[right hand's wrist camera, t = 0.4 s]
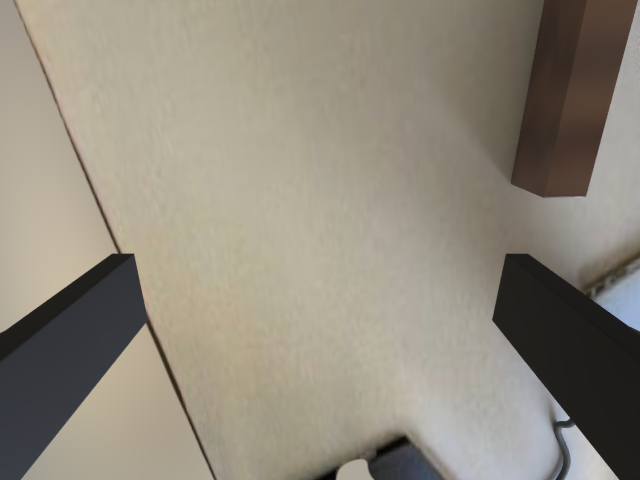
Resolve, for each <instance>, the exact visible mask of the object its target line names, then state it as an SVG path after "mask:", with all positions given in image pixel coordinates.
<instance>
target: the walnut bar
mask: <svg viewBox="0 0 640 480" xmlns="http://www.w3.org/2000/svg"><path fill="white" fill-rule="evenodd" d="M637 2H638V0H545V2H544V8H543V13H542V19H541V24H540V29H539V35H538V40H537V46H536V51H535V57H534V62H533V67H532V73H531V78H530V84H529V89H528V95H527V100H526V105H525V111H524V116H523V122H522V127H521V133H520V138H519V143H518V149H517V154H516V160H515V165H514V171H513V176H512V181H511V184H512V185H514V186H517V187H519V188H522V189H524V190H526V191H529V192H531V193H534V194H536V195H538V196H541V197H543V198H552V197H586V194H587V190H588V187H589V183H590V179H591V175H592V171H593V168H594V164H595V160H596V156H597V153H598V149H599V145H600V141H601V137H602V134H603V130H604V126H605V122H606V119H607V115H608V111H609V107H610V104H611V100H612V96H613V92H614V88H615V85H616V81H617V77H618V73H619V70H620V66H621V62H622V58H623V55H624V51H625V47H626V43H627V39H628V36H629V32H630V28H631V24H632V21H633V17H634V13H635V9H636V6H637Z"/></svg>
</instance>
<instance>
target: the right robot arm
mask: <svg viewBox="0 0 640 480" xmlns="http://www.w3.org/2000/svg"><path fill="white" fill-rule="evenodd" d="M147 320H148V319H147V314H146V309H145V304H144V300H143V295H142V290H141V285H140V280H139V276H138V271H137V266H136V261H135V256H134V254H111V255H110V256H108V257H107V258H106V259H104V260H103V261H101V262H100V263H99V264H97V265H96V266H94V267H93V268H92V269H90V270H89V271H88V272H86V273H85V274H83V275H82V276H81V277H79V278H78V279H76V280H75V281H74V282H72V283H71V284H69V285H68V286H67V287H65V288H64V289H62V290H61V291H60V292H58V293H57V294H56V295H54V296H53V297H51V298H50V299H49V300H47V301H46V302H44V303H43V304H42V305H40V306H39V307H37V308H36V309H35V310H33V311H32V312H31V313H29V314H28V315H26V316H25V317H24V318H22V319H21V320H19V321H18V322H17V323H15V324H14V325H12V326H11V327H10V328H8V329H7V330H6V331H4V332H1V333H0V480H21V479H22V477H23V476H24V475H25V474H26V472H27V471H28V470H29V469H30V467H31V466H32V465H33V464H34V462H35V461H36V460H37V458H38V457H39V456H40V455H41V453H42V452H43V451H44V450H45V448H46V447H47V446H48V445H49V443H50V442H51V441H52V440H53V438H54V437H55V436H56V435H57V433H58V432H59V431H60V430H61V428H62V427H63V426H64V425H65V423H66V422H67V421H68V420H69V418H70V417H71V416H72V415H73V413H74V412H75V411H76V410H77V408H78V407H79V406H80V404H81V403H82V402H83V401H84V400H85V398H86V397H87V396H88V394H89V393H90V392H91V391H92V389H93V388H94V387H95V386H96V384H97V383H98V382H99V381H100V379H101V378H102V377H103V376H104V374H105V373H106V372H107V371H108V369H109V368H110V367H111V366H112V364H113V363H114V362H115V361H116V359H117V358H118V357H119V356H120V354H121V353H122V352H123V351H124V349H125V348H126V347H127V346H128V344H129V343H130V342H131V340H132V339H133V338H134V337H135V335H136V334H137V333H138V332H139V331H140V329H141V328H142V327H143V325H144V324H145V323H146V322H147ZM492 320H493V322H494V323H495V324H496V326H497V327H498V328H499V329H500V331H501V332H502V333H503V334H504V336H505V337H506V338H507V339H508V341H509V342H510V343H511V344H512V346H513V347H514V348H515V349H516V351H517V352H518V353H519V354H520V356H521V357H522V358H523V359H524V361H525V362H526V363H527V364H528V366H529V367H530V368H531V369H532V371H533V372H534V373H535V374H536V376H537V377H538V378H539V379H540V381H541V382H542V383H543V384H544V386H545V387H546V388H547V389H548V391H549V392H550V393H551V395H552V396H553V397H554V398H555V400H556V401H557V402H558V403H559V405H560V406H561V407H562V408H563V410H564V411H565V412H566V413H567V415H568V416H569V417H570V418H571V420H572V421H573V422H574V423H575V425H576V426H577V427H578V428H579V430H580V431H581V432H582V433H583V435H584V436H585V437H586V438H587V440H588V441H589V442H590V443H591V445H592V446H593V447H594V448H595V450H596V451H597V452H598V453H599V455H600V456H601V457H602V459H603V460H604V461H605V462H606V464H607V465H608V466H609V467H610V469H611V470H612V471H613V472H614V474H615V475H616V476H617V477H618V479H619V480H640V331H638V330H636V329H633V328H631V327H629V326H628V325H626V324H625V323H623V322H622V321H621V320H619V319H618V318H616V317H615V316H614V315H612V314H611V313H609V312H608V311H607V310H605V309H604V308H603V307H601V306H600V305H598V304H597V303H596V302H594V301H593V300H591V299H590V298H589V297H587V296H586V295H584V294H583V293H582V292H580V291H579V290H578V289H576V288H575V287H573V286H572V285H571V284H569V283H568V282H566V281H565V280H564V279H562V278H561V277H559V276H558V275H557V274H555V273H554V272H553V271H551V270H550V269H548V268H547V267H546V266H544V265H543V264H541V263H540V262H539V261H537V260H536V259H534V258H533V257H532V256H530V255H529V254H506V256H505V261H504V266H503V271H502V276H501V280H500V285H499V290H498V295H497V300H496V304H495V309H494V314H493V319H492Z"/></svg>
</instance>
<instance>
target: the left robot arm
mask: <svg viewBox="0 0 640 480" xmlns="http://www.w3.org/2000/svg"><path fill="white" fill-rule="evenodd" d="M574 425H575V423H574V422H573V421H572V420H571V418H570V419H569V420H567V421H559V422H557V423H556V424H555V427H554V431H555V435H556V438H557V440H558V442H559V444H560V447H561V449H562V452H563V456H564V462H563V466H562V469H561V471H560V473H559V475H558V477H557V478H556V479H555V480H564V479H565V478H566V476H567V474H568V471H569V468H570V463H571V462H570V454H569V451H568V448H567V445H566V443H565V441H564V439H563V436H562V433H561V429H562V428H571V427H573V426H574Z"/></svg>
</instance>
